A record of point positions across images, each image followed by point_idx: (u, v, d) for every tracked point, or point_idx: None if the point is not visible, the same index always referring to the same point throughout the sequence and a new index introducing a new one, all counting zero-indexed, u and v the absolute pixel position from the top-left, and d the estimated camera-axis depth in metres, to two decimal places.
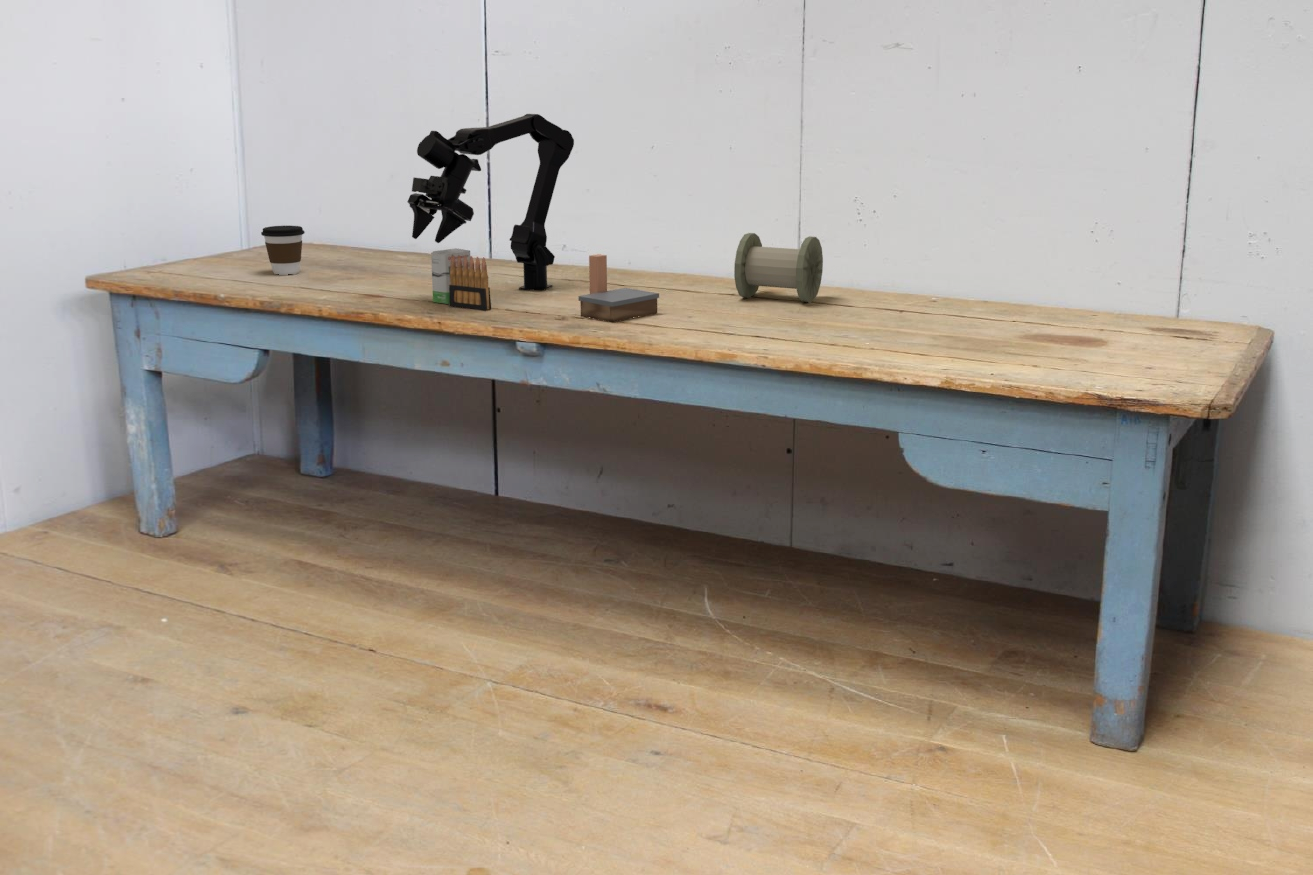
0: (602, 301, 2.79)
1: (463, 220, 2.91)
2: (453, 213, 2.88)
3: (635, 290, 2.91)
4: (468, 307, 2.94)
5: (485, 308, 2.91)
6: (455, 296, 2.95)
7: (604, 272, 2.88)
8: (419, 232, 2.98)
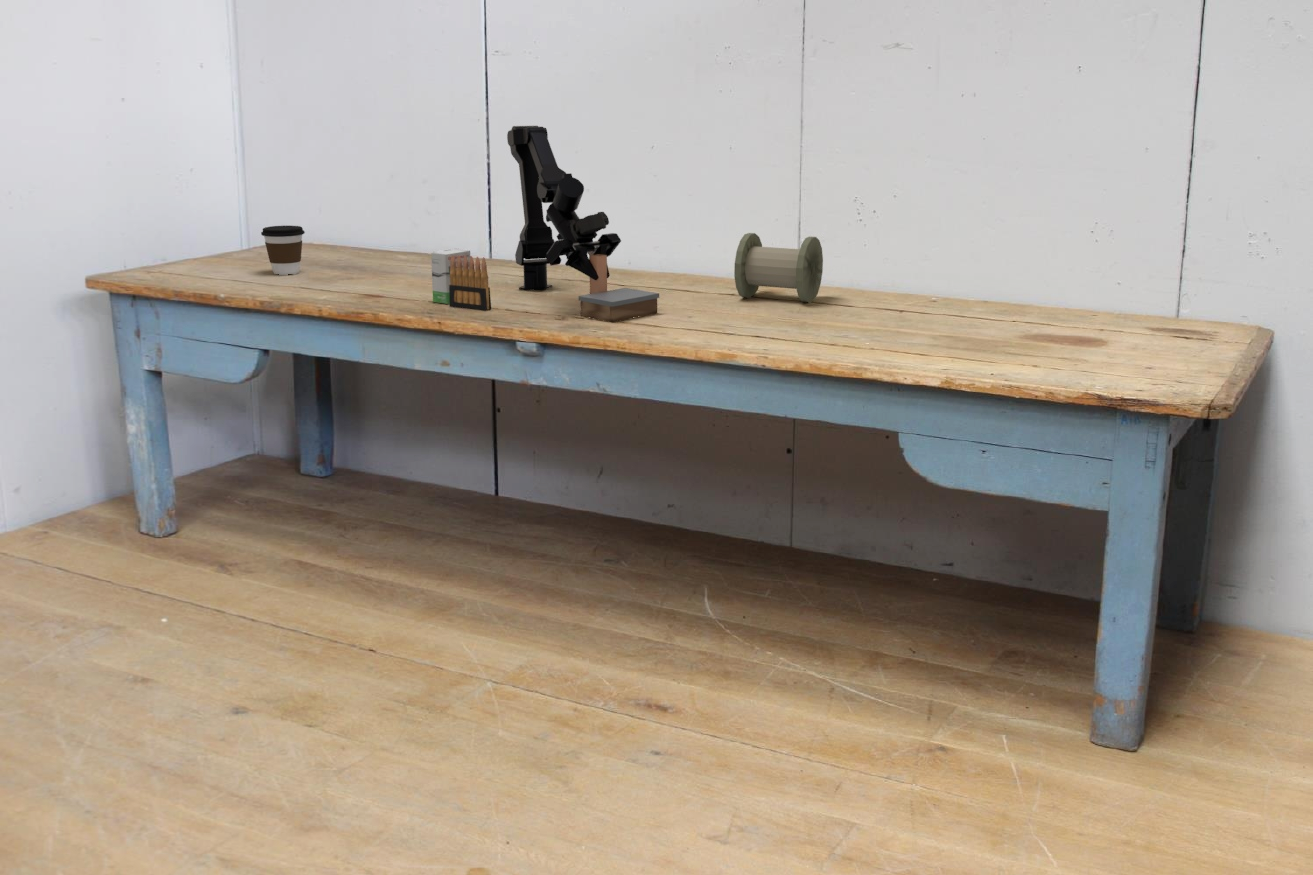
0: (602, 301, 2.79)
1: None
2: None
3: (635, 290, 2.91)
4: (468, 307, 2.94)
5: (485, 308, 2.91)
6: (455, 296, 2.95)
7: (604, 272, 2.88)
8: None
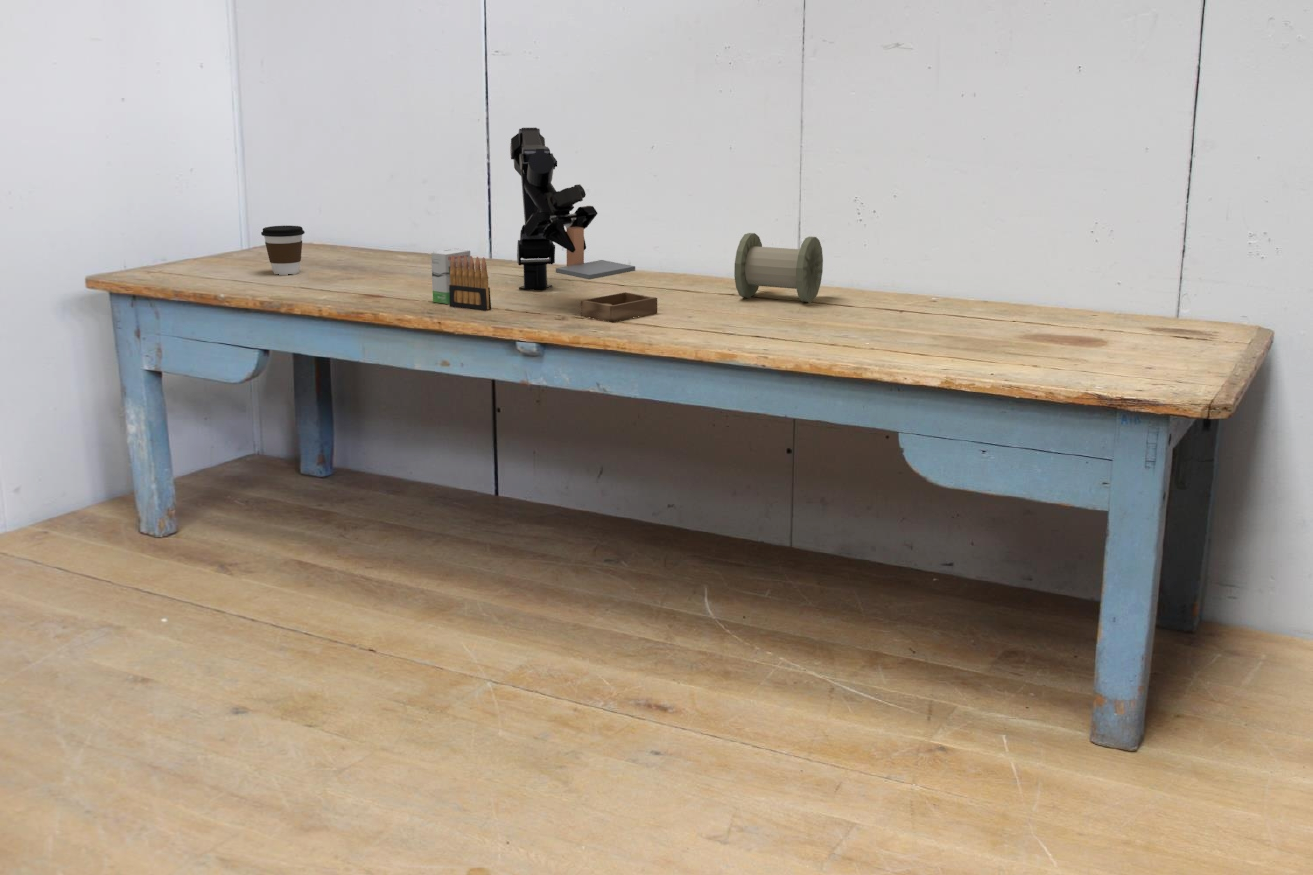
0: (579, 274, 2.83)
1: None
2: None
3: (611, 263, 2.95)
4: (468, 307, 2.94)
5: (485, 308, 2.91)
6: (455, 296, 2.95)
7: (581, 244, 2.92)
8: None
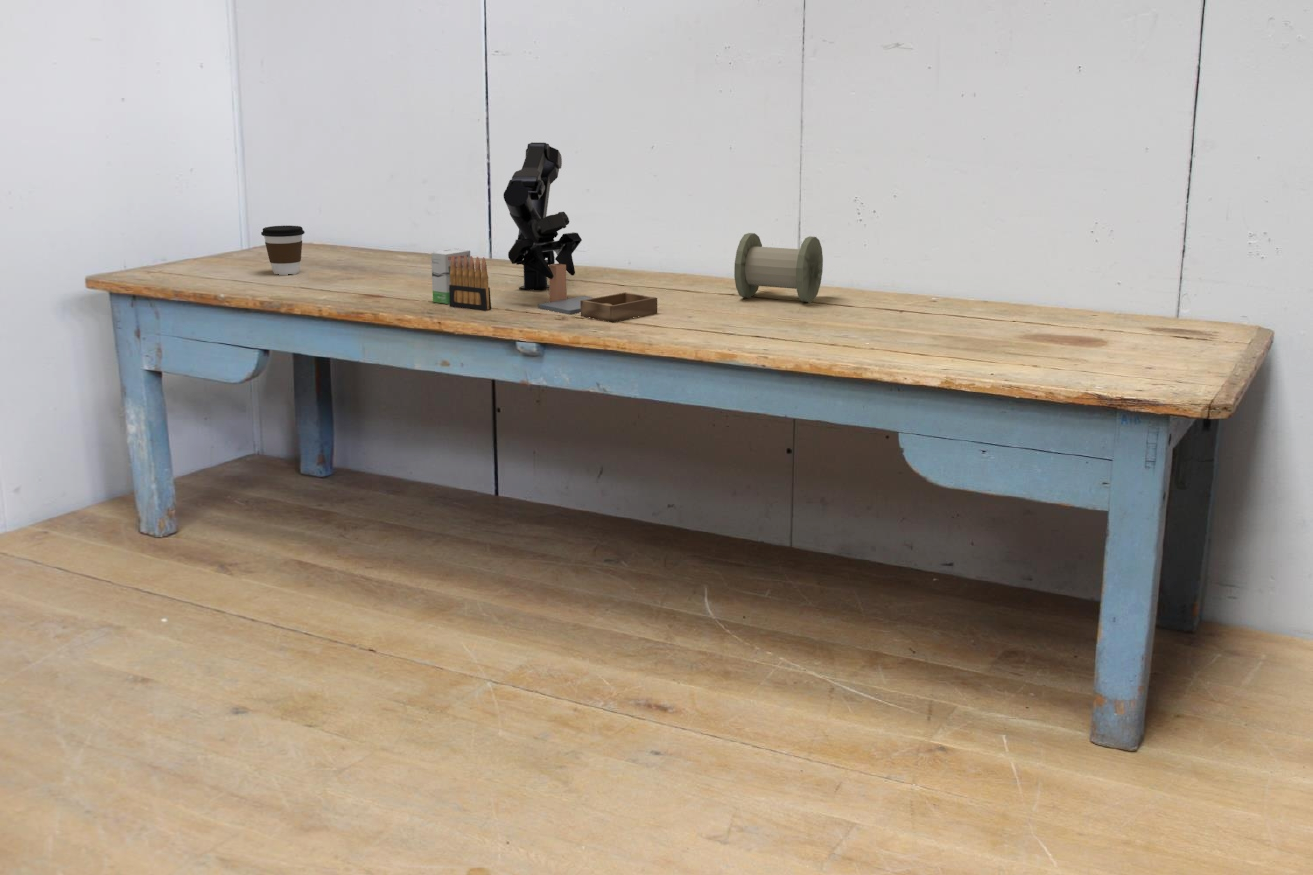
0: (560, 309, 2.89)
1: None
2: None
3: None
4: (468, 307, 2.94)
5: (485, 308, 2.91)
6: (455, 296, 2.95)
7: (563, 281, 2.98)
8: None
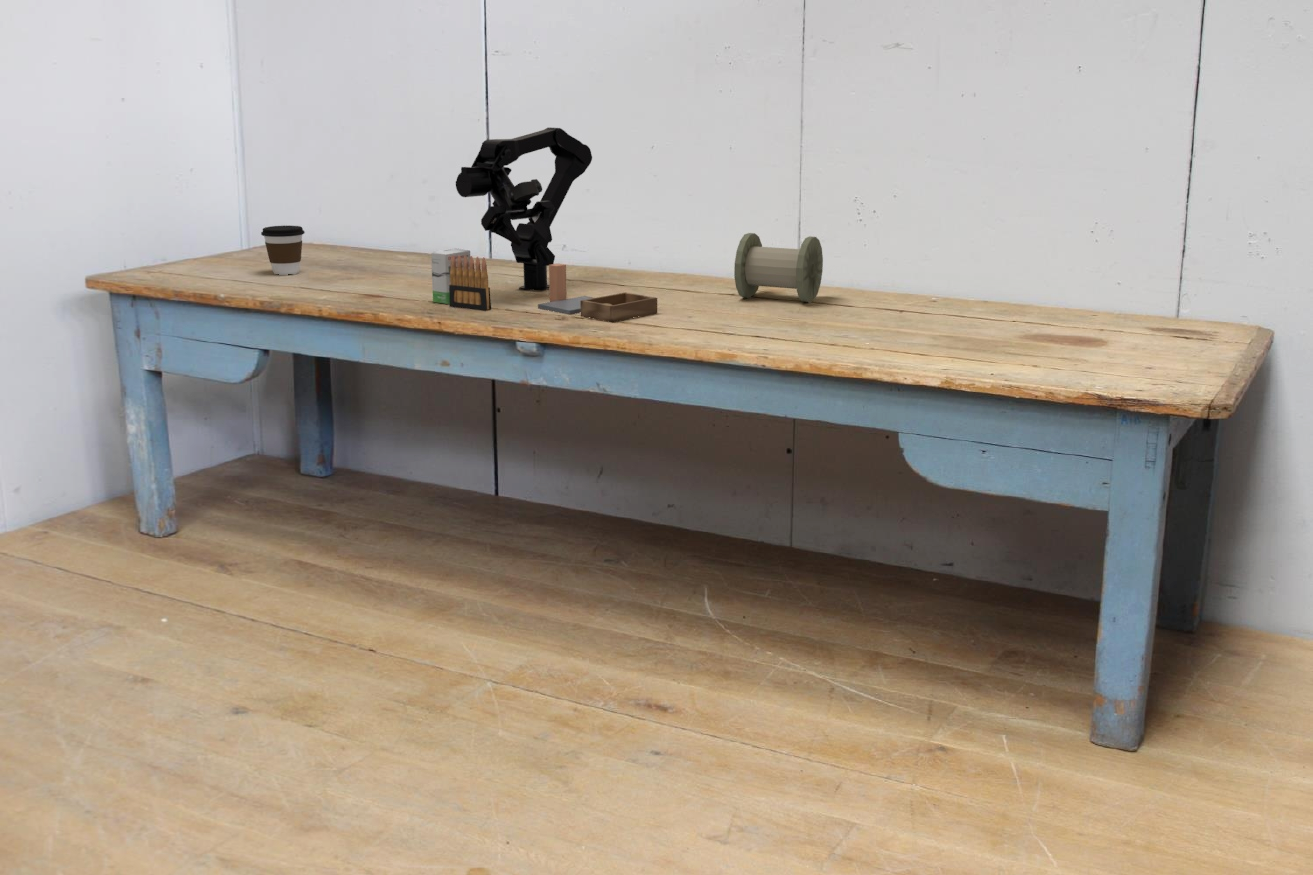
0: (560, 309, 2.89)
1: None
2: None
3: None
4: (468, 307, 2.94)
5: (485, 308, 2.91)
6: (455, 296, 2.95)
7: (563, 281, 2.98)
8: None
